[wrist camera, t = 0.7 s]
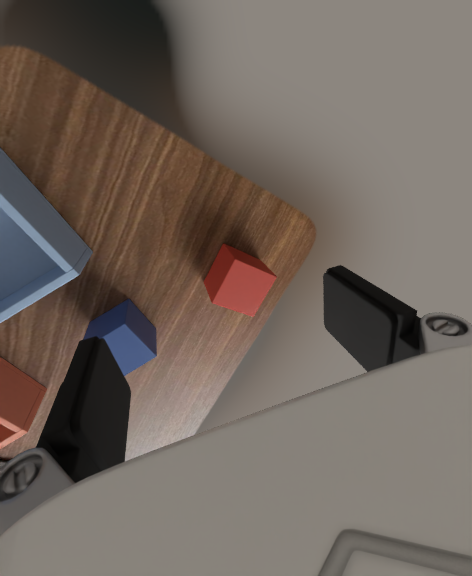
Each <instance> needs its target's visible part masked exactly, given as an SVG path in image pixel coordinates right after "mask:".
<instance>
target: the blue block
mask: <svg viewBox="0 0 472 576" xmlns="http://www.w3.org/2000/svg"><path fill="white" fill-rule="evenodd" d="M94 336H97V337H98V338H99V339H101V338H104V339H105V341H106V343H107V345H108V346H109V348H110V350H111V352H112V354H113V356H114V358H115V360H116V362H117V364H118V366H119V367H120V369H121V371H122V373H123V375H124V376H125V375H127V374H128V373H130V372H132V371H133V370H135V369H137V368H138V367H140V366H141V365H143V364H145V363H146V362H148V361H150V360H151V359H153V358H155V357H156V356H157V348H156V328H155V327H154V326H153V325H152V324H151V322H150V321H149V320H148V319H147V318H146V317H145V316H144V315H143V314H142V313H141V311H140V310H139V309H138V308H137V307H136V306H135V305H134V304H133V303H132V301H131V300H130V299H127V300H126V301H124V302H122V303H121V304H119V305H117V306H116V307H114V308H112V309H111V310H109V311H107V312H106V313H104V314H103V315H101V316H99V317H98V318H96V319H94V320H93V321H91V322H90V323H89V325H88V328H87V331H86V333H85V336H84V339H88V338H91V337H94ZM84 339H83V340H84Z"/></svg>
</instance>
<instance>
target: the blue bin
mask: <svg viewBox="0 0 472 576" xmlns="http://www.w3.org/2000/svg"><path fill="white" fill-rule="evenodd" d="M92 253H93V251H92V250H91V249H90V248H89V247H88V246H87V245H86V243H85V242H84V241H83V240H82V239H81V238H80V237H79V236H78V234H77V233H76V232H75V231H74V230H73V229H72V228H71V227H70V225H69V224H68V223H67V222H66V221H65V220H64V219H63V218H62V216H61V215H60V214H59V213H58V212H57V211H56V210H55V209H54V207H53V206H52V205H51V204H50V203H49V202H48V201H47V200H46V198H45V197H44V196H43V195H42V194H41V193H40V192H39V191H38V189H37V188H36V187H35V186H34V185H33V184H32V183H31V182H30V180H29V179H28V178H27V177H26V176H25V175H24V174H23V173H22V171H21V170H20V169H19V168H18V167H17V166H16V165H15V164H14V162H13V161H12V160H11V159H10V158H9V157H8V156H7V154H6V153H5V152H4V151H3V150H2V149H1V148H0V323H1V322H3V321H4V320H6V319H8V318H9V317H11V316H13V315H14V314H16V313H17V312H19V311H21V310H22V309H24V308H26V307H27V306H29V305H31V304H32V303H34V302H36V301H37V300H39V299H41V298H42V297H44V296H46V295H47V294H49V293H51V292H52V291H54V290H55V289H57V288H59V287H60V286H62V285H64V284H65V283H67V282H69V281H70V280H72V279H74V278H75V277H77V276H79V275H80V273H81V271H82V270H83V268H84V266H85V265H86V263H87V261H88V260H89V258H90V256H91V255H92Z"/></svg>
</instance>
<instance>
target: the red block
mask: <svg viewBox="0 0 472 576" xmlns="http://www.w3.org/2000/svg"><path fill="white" fill-rule="evenodd" d="M276 278H277V276H276V275H275V274H274V273H273V272H272V271H271V270H270V269H269V268H268V267H267V266H266V265H265V264H264V263H263V262H262V261H261V260H260V259H257V258H255V257H253V256H251V255H248V254H246V253H244V252H242V251H240V250H237V249H235V248H233V247H231V246H229V245H226V244H224V243H223V245H222V247H221V249H220V251H219V253H218V255H217V257H216V259H215V261H214V263H213V265H212V267H211V269H210V271H209V273H208V274H207V276H206V278H205V280H204V284H205V286H206V289H207V291H208V294H209V297H210V299H211V302H212V303H214V304H217V305H220V306H223V307H226V308H228V309H231V310H234V311H237V312H240V313H243V314H246V315H249V316H252V317H254V315H255V313H256V312H257V310H258V308H259V307H260V305H261V303H262V302H263V300H264V298H265V296H266V295H267V293H268V291H269V290H270V288H271V286H272V285H273V283H274V281H275V279H276Z"/></svg>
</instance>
